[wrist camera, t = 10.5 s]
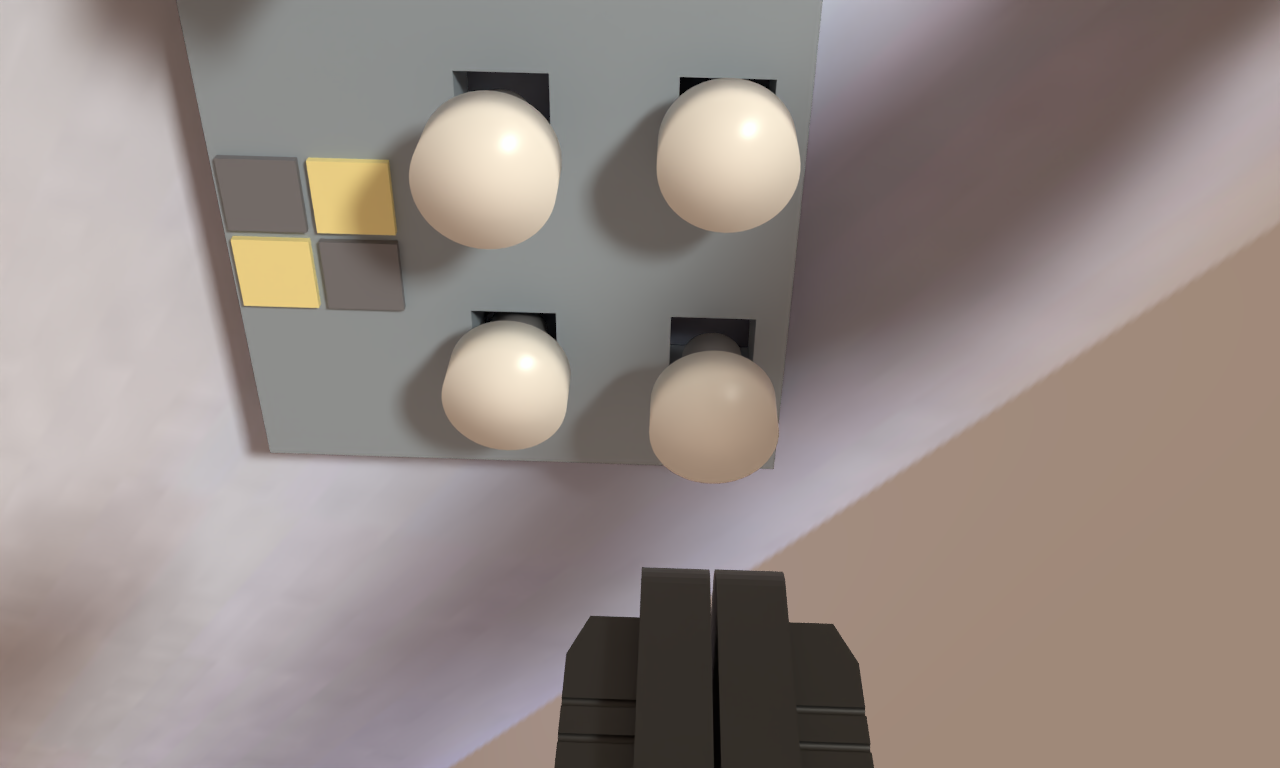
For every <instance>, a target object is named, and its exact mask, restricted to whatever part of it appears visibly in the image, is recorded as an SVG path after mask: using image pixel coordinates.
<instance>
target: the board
mask: <svg viewBox="0 0 1280 768" xmlns="http://www.w3.org/2000/svg"><path fill="white" fill-rule="evenodd" d="M176 2H177V7H178V12H179V17H180V21H181V26H182V31H183V36H184V41H185V45H186V50H187V55H188V60H189V65H190V69H191V74H192V79H193V84H194V89H195V93H196V98H197V103H198V108H199V113H200V117H201V122H202V127H203V132H204V137H205V141H206V146H207V151H208V156H209V161H210V165H211V170H212V175H213V180H214V185H215V189H216V194H217V199H218V204H219V209H220V213H221V218H222V223H223V228H224V233H225V237H226V242H227V247H228V252H229V257H230V261H231V266H232V271H233V276H234V281H235V285H236V290H237V295H238V300H239V305H240V309H241V314H242V319H243V324H244V329H245V333H246V338H247V343H248V348H249V353H250V357H251V362H252V367H253V372H254V377H255V381H256V386H257V391H258V396H259V401H260V405H261V410H262V415H263V420H264V425H265V429H266V434H267V439H268V444H269V449H270V453H299V454H329V455H360V456H391V457H421V458H452V459H483V460H513V461H544V462H575V463H605V464H636V465H663V464H662V463H661V462H660V460H659V459H658V458H657V457H656V455H655V453H654V451H653V449H652V446H651V443H650V437H649V426H650V401H651V393H652V389H653V386H654V384H655V382H656V380H657V378H658V377H659V375H660V374H661V373H662V372H663V371H664V370H665V369H666V368H667V367H668V366H669V365H670V364H672V363H673V362H675V361H676V360H678V359H680V358H682V353H683V350H684V348H685V345H670V332H671V317H693V318H726V319H750V326H749V338H748V347H739V348H740V351H741V356H743V357H745V358H747V359H749V360H751V361H752V362H754V363H755V364H757V365H758V366H759V367H760V368H761V369H762V370H763V371H764V372H765V373H766V374H767V376H768V377H769V378H770V380H771V382H772V384H773V387H774V391H775V397H776V407H777V418H778V423H779V414H780V404H781V394H782V385H783V375H784V366H785V356H786V346H787V337H788V327H789V318H790V308H791V299H792V289H793V279H794V270H795V260H796V251H797V241H798V232H799V222H800V212H801V203H802V193H803V184H804V174H805V164H806V155H807V145H808V136H809V126H810V117H811V107H812V97H813V88H814V78H815V69H816V59H817V50H818V40H819V30H820V21H821V11H822V2H823V0H176ZM467 71H480V72H516V73H549V98H550V125H551V126H552V128H553V130H554V132H555V134H556V136H557V139H558V141H559V144H560V149H561V155H562V168H561V174H560V179H559V185H558V190H557V195H556V200H555V205H554V208H553V210H552V213H551V215H550V217H549V219H548V220H547V222H546V223H545V224H544V226H543V227H542V228H541V229H540V230H539V231H538V232H537V233H536V234H534V235H533V236H532V237H530V238H529V239H527V240H525V241H523V242H521V243H519V244H517V245H514V246H510V247H507V248H501V249H478V248H473V247H468V246H465V245H462V244H459V243H457V242H454V241H452V240H450V239H448V238H447V237H445V236H443V235H442V234H441V233H439V232H438V231H437V230H435V229H434V228H433V227H432V226H431V225H430V224H429V223H428V222H427V221H426V220H425V218H424V217H423V216H422V214H421V213H420V211H419V210H418V208H417V206H416V204H415V202H414V200H413V197H412V194H411V190H410V184H409V169H410V163H411V160H412V156H413V154H414V151H415V149H416V147H417V144H418V142H419V139H420V137H421V135H422V132H423V130H424V127H425V125H426V123H427V121H428V120H429V118H430V117H431V115H432V114H433V113H434V112H435V111H436V109H437V108H439V107H440V106H441V105H442V104H443V103H445V102H446V101H448V100H449V99H451V98H453V97H455V96H458V95H460V94H464V93H467V92H468V79H467ZM680 77H698V78H739V79H770V82H769V90H770V91H771V92H773V93H774V94H775V95H776V96H777V97H778V98H779V99H780V100H781V101H782V102H783V103H784V105H785V106H786V108H787V109H788V111H789V112H790V115H791V117H792V119H793V122H794V126H795V130H796V136H797V142H798V148H799V154H800V162H801V165H800V176H799V181H798V184H797V187H796V190H795V192H794V194H793V196H792V197H791V199H790V201H789V202H788V204H787V205H786V206H785V207H784V208H783V209H782V210H781V211H780V212H779V213H778V214H777V215H776V216H775V217H773V218H772V219H770V220H769V221H767V222H766V223H764V224H762V225H760V226H757V227H755V228H752V229H749V230H745V231H741V232H734V233H721V232H713V231H708V230H704V229H701V228H698V227H696V226H694V225H692V224H690V223H688V222H687V221H685V220H684V219H682V218H681V217H680V216H679V215H677V214H676V213H675V212H674V211H673V210H672V208H671V207H670V206H669V205H668V203H667V202H666V200H665V199H664V197H663V195H662V193H661V190H660V187H659V184H658V179H657V147H658V134H659V130H660V125H661V123H662V120H663V118H664V116H665V114H666V112H667V111H668V109H669V108H670V106H671V105H672V104H673V102H674V101H675V100H676V99H677V98H678V97H679V87H680ZM484 311H497V312H530V313H556V338H557V342H558V344H559V345H560V346H561V347H562V349H563V350H564V352H565V354H566V356H567V358H568V361H569V365H570V371H571V377H570V386H569V394H568V401H567V409H566V414H565V417H564V420H563V422H562V424H561V426H560V427H559V429H558V430H557V431H556V432H555V433H554V434H553V435H552V436H551V437H550V438H548V439H547V440H545V441H544V442H542V443H540V444H538V445H536V446H533V447H530V448H526V449H520V450H499V449H493V448H489V447H486V446H483V445H480V444H478V443H475V442H474V441H472V440H470V439H468V438H467V437H465V436H464V435H463V434H461V433H460V432H459V431H458V430H457V429H456V428H455V427H454V426H453V425H452V423H451V422H450V421H449V419H448V417H447V415H446V413H445V411H444V408H443V404H442V387H443V383H444V379H445V376H446V372H447V368H448V365H449V361H450V358H451V354H452V351H453V349H454V347H455V345H456V344H457V342H458V341H459V340H460V338H461V337H462V336H463V335H464V334H466V333H467V332H468V331H470V330H471V329H473V328H475V327H477V326H479V325H482V324H485V322H484ZM775 452H776V448H775V450H774V452H773V454H772V456H771V457H770V458H769V460H768V461H767V462H766V463H765V464H764V465H763V466H762V467H761V468H759V469H774V461H775Z"/></svg>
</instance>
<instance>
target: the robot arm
mask: <svg viewBox="0 0 1280 768" xmlns="http://www.w3.org/2000/svg"><path fill="white" fill-rule="evenodd" d="M710 604H711V599H710V571H709V570H703V569H674V568H644V567H642V578H641V601H640V618H635V617H607V616H590V617H589V619H588V621H587V622H586V624H585V625H584V627H583V628H582V630H581V631H580V633H579V635H578V636H577V638H576V639H575V641H574V642H573V644H572V646H571V647H570V649H569V650H568V652H567V653H566V663H565V672H564V682H563V691H562V706H561V711H560V720H559V730H558V742H557V749H556V758H555V768H874V765H873V759H872V753H870V738H869V731H868V724H867V717H866V716H865V705H864V697H863V690H862V683H861V676H860V669H859V663H858V662H857V660H856V659H855V657H854V655H853V654H852V653H851V651H850V649H849V648H848V646H847V645H846V643H845V642H844V640H843V639H842V637H841V636H840V634H839V632H838V631H837V629H836V628H835V626H834V625H833V624H819V623H790V622H789V619H788V608H787V597H786V586H785V578H784V574H783V572H772V571H743V570H715V571H714V580H713V593H712V607H711V605H710Z"/></svg>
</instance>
